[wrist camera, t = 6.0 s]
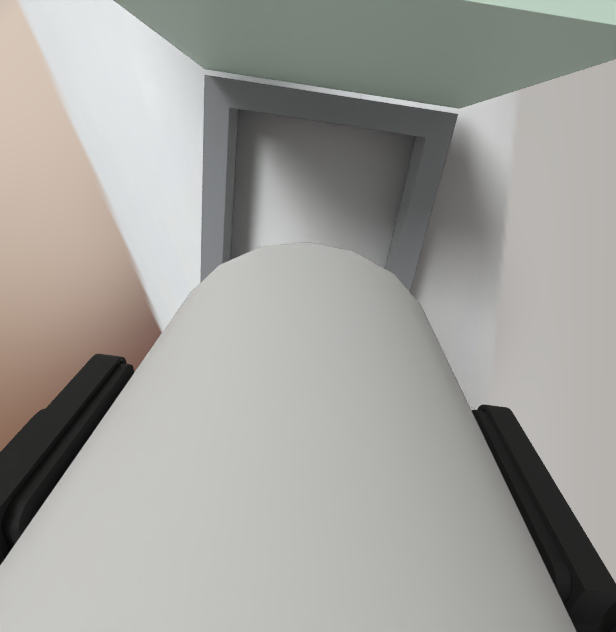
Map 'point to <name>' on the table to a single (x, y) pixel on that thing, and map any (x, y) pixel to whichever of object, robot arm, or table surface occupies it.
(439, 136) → the duct box
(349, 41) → the plate
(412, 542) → the can
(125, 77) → the table surface
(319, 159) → the table surface
